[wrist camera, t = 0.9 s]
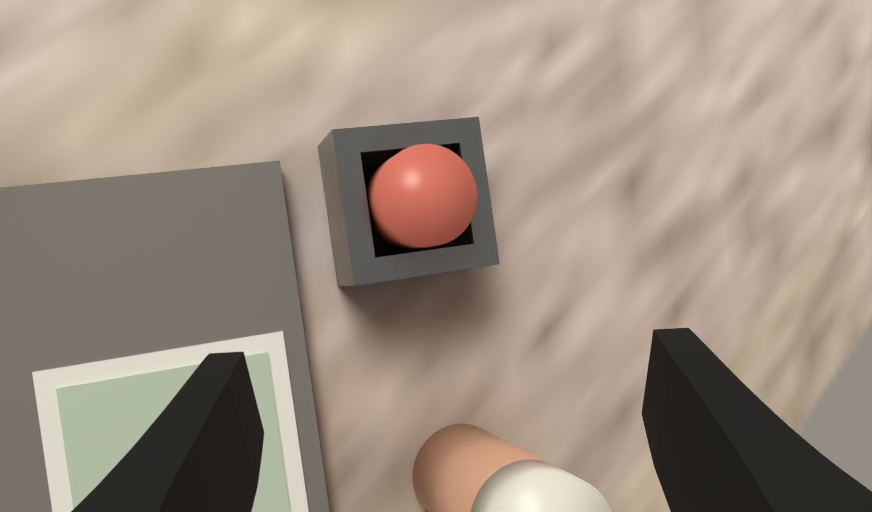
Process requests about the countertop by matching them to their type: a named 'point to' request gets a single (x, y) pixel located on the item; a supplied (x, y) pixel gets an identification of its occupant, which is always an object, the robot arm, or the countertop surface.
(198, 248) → the grey rectangular board
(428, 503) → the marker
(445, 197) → the button
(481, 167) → the button base
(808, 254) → the countertop surface
